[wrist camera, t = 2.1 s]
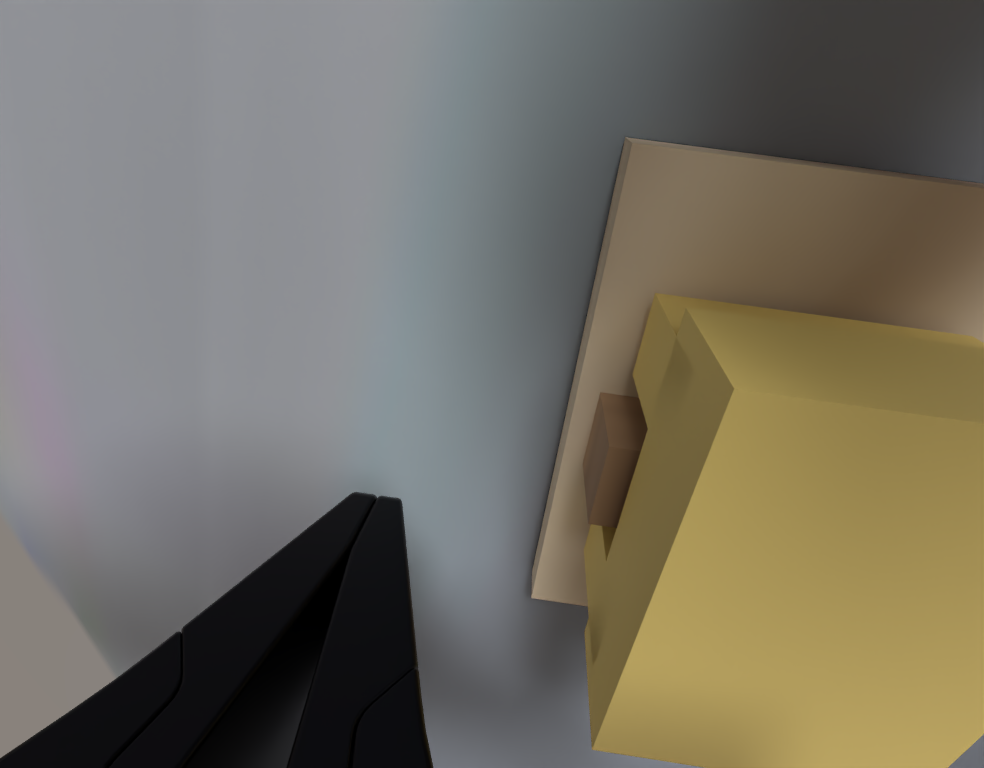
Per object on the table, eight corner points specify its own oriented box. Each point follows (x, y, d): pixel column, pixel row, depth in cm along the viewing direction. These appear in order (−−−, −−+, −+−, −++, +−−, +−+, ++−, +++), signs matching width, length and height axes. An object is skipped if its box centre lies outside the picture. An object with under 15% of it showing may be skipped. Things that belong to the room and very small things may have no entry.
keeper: (987, 311, 10) (1273, 463, 6) (810, 597, 14) (912, 800, 10) (662, 267, 10) (733, 388, 6) (580, 563, 14) (592, 750, 10)
